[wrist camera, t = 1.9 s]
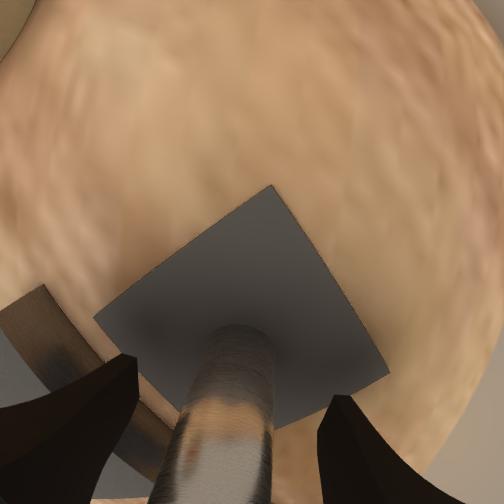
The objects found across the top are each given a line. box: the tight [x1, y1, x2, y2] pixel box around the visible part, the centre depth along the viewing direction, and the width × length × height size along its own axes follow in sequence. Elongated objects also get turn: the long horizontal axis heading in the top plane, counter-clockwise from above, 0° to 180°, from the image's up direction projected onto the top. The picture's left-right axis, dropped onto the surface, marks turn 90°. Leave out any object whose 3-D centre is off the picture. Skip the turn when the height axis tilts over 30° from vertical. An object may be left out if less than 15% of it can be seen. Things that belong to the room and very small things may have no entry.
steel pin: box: [147, 324, 275, 504], centre depth 8 cm, size 3×3×10 cm
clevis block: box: [0, 284, 173, 499], centre depth 14 cm, size 12×20×4 cm, turn 125°
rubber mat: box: [93, 185, 390, 430], centre depth 13 cm, size 10×10×1 cm
